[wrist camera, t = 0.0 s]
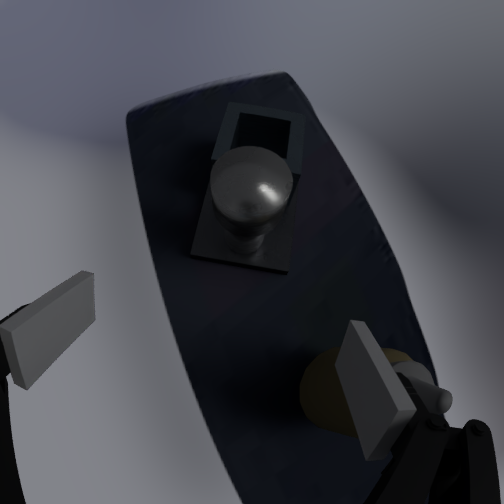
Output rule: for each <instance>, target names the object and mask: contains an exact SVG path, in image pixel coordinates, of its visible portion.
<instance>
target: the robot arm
mask: <svg viewBox="0 0 504 504" xmlns="http://www.w3.org/2000/svg"><path fill="white" fill-rule="evenodd" d="M94 321H95V304H94V273H90V272H86V271H80V272H79V273H77V274H76V275H74V276H72V277H71V278H69V279H68V280H66V281H64V282H63V283H61V284H60V285H58V286H57V287H55V288H53V289H52V290H51V291H49V292H47V293H46V294H44V295H43V296H41V297H40V298H38V299H37V300H35V301H34V302H32V303H30V304H27V305H24V306H21V307H20V308H18V309H17V310H15V311H14V312H12V313H11V314H9V316H6V317H5V318H3V319H2V320H0V504H26V502H25V499H24V495H23V491H22V487H21V483H20V478H19V474H18V469H17V464H16V459H15V453H14V447H13V440H12V431H11V423H10V412H9V397H8V382H7V379H6V376H7V375H8V374H9V373H10V372H11V375H12V378H13V381H14V384H16V385H18V386H20V387H21V388H23V389H25V390H28V389H29V388H30V387H31V386H32V385H33V383H34V382H35V381H36V380H37V379H38V378H39V377H40V376H41V375H42V374H43V373H44V372H45V371H46V369H48V368H49V366H50V365H51V364H52V363H53V362H54V361H55V360H56V359H57V358H58V357H59V356H60V355H61V354H62V353H63V352H64V351H65V350H66V349H67V348H68V347H69V346H70V345H71V344H72V343H73V342H74V341H75V340H76V339H77V338H78V337H79V336H80V334H81V333H83V332H84V331H85V330H86V329H87V328H88V327H89V326H90V325H91V324H92V323H93V322H94ZM335 367H336V370H337V373H338V376H339V379H340V382H341V385H342V388H343V391H344V394H345V397H346V400H347V403H348V406H349V409H350V412H351V415H352V418H353V421H354V424H355V427H356V430H357V434H358V437H359V440H360V443H361V446H362V449H363V453H364V456H365V459H366V461H373V460H384V458H385V457H386V455H387V454H388V453H389V451H390V450H391V452H392V455H393V458H392V460H391V461H390V462H389V464H388V465H387V466H386V467H385V469H384V470H383V471H382V472H381V474H382V476H381V477H380V479H379V481H378V482H377V484H376V485H375V487H374V488H373V490H372V492H371V493H370V495H369V496H368V498H367V499H366V500H365V502H364V503H363V504H424V502H425V500H426V498H427V495H428V493H429V490H430V494H429V502H428V504H501V500H500V489H499V488H500V487H499V478H498V470H497V463H496V457H495V451H494V444H493V439H492V434H491V431H490V428H489V427H488V426H487V425H486V424H485V423H484V422H482V421H479V420H475V419H472V420H469V421H468V422H467V423H466V424H465V426H464V427H463V429H461V428H454V427H450V426H449V424H448V422H447V421H446V420H445V419H444V418H443V417H441V416H439V415H437V414H434V413H429V411H428V410H427V408H426V406H425V405H424V403H423V401H422V400H421V398H420V396H419V395H418V394H417V391H416V390H415V388H413V385H412V383H411V382H410V380H409V379H408V378H407V377H406V376H404V375H403V374H402V373H401V372H395V371H394V369H393V368H392V366H391V364H390V363H389V361H388V359H387V358H386V356H385V355H384V353H383V351H382V350H381V348H380V346H379V345H378V343H377V342H376V340H375V338H374V337H373V335H372V334H371V332H370V330H369V329H368V327H367V326H366V324H365V323H364V322H362V321H354V320H350V322H349V326H348V329H347V332H346V334H345V337H344V340H343V343H342V346H341V349H340V352H339V354H338V357H337V360H336V363H335Z"/></svg>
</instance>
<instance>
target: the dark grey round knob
mask: <svg viewBox="0 0 504 504" xmlns="http://www.w3.org/2000/svg"><path fill="white" fill-rule="evenodd" d="M210 182H211V196H212V208H213V213H214V216H215V218H216V220H217V221H218V223H219V224H220V225H221V226H222V227H223V228H224V229H225V241H226V243H227V245H228V246H229V248H230V249H232V250H233V251H235V252H237V253H240V254H249V253H252V252H254V251H256V250H257V249H258V248H259V247H260V246H261V244H262V242H263V239H264V236H265V234H266V233H268V232H270V231H271V230H272V229H274V228H275V227H276V226H277V225H278V223H279V222H280V220H281V218H282V215H283V213H284V210H285V207H286V204H287V201H288V198H289V196H290V193H291V190H292V185H293V178H292V173H291V171H290V168H289V167H288V165H287V163H286V162H285V161H284V160H283V159H282V158H281V157H280V156H278V155H277V154H276V153H274V152H272V151H270V150H268V149H265V148H261V147H255V146H243V147H238V148H235V149H232V150H230V151H228V152H226V153H224V154H223V155H222V156H220V157H219V158H218V159H217V161H216V162H215V164H214V165H213V168H212V170H211V175H210Z"/></svg>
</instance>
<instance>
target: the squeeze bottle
mask: <svg viewBox="0 0 504 504" xmlns="http://www.w3.org/2000/svg"><path fill="white" fill-rule="evenodd" d="M340 349H341V347H333V348H331V349H329V350H327V351H325V352H323V353H321V354H319V355H318V356H317V357H316V358H315V359H314V360H313V361H312V362H311V363H310V364H309V365H308V367H307V368H306V370H305V372H304V375H303V377H302V380H301V382H300V404H301V406H302V408H303V411H304V413H305V415H306V417H307V418H308V419H309V420H310V421H312V422H313V423H314V424H315V425H316V426H318V427H319V428H322V429H326V430H329V431H333V432H336V433H340V434H344V435H347V436H351V437H355V438H359V437H358V434H357V430H356V427H355V424H354V421H353V418H352V415H351V412H350V409H349V406H348V403H347V400H346V397H345V394H344V391H343V388H342V385H341V382H340V379H339V376H338V373H337V370H336V367H335V363H336V360H337V357H338V354H339V352H340ZM381 350H382V351H383V353H384V355H385V356H386V358H387V359H388V361H389V363H390V364H391V366H392V368H393V369H394V371H395V372H401V373H402V374H403V375H404V376H406V377H407V378H408V379H409V380H410V382H411V383H412V385H413V388H415V390H416V391H417V394H418V395H419V396H420V398H421V400H422V401H423V403H424V405H425V406H426V408H427V410H428V411H429V413H434V414H437V415H438V414H442V413H446V412H447V411H448V410H449V409H450V407H451V404H452V394H451V393H450V392H449V391H447V390H445V389H442V388H439V387H437V386H434V382H433V379H432V377H431V374H430V372H429V371H428V370H427V369H426V368H425V367H424V366H423V365H422V364H420V363H417V362H414V361H413V360H412V359H411V358H410V357H409V356H408V355H407V354H406V353H403V352H400V351H397V350H394V349H388V348H381Z"/></svg>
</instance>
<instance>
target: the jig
mask: <svg viewBox="0 0 504 504" xmlns="http://www.w3.org/2000/svg"><path fill="white" fill-rule="evenodd" d="M304 130H305V115H304V114H299V113H294V112H289V111H284V110H278V109H273V108H267V107H261V106H255V105H248V104H241V103H234V102H229V104H228V107H227V110H226V113H225V116H224V119H223V122H222V125H221V128H220V131H219V134H218V138H217V141H216V144H215V147H214V150H213V154H212V157H211V169H212V168H213V165H214V164H215V162H216V161H217V159H218V158H219V157H220V156H222V155H223V154H224V153H226V152H228V151H230V150H232V149H235V148H238V147H243V146H255V147H261V148H265V149H268V150H270V151H272V152H274V153H276V154H277V155H278V156H280V157H281V158H282V159H283V160H284V161H285V162H286V163H287V165H288V167H289V168H290V171H291V173H292V178H293V185H292V190H291V193H290V196H289V198H288V201H287V204H286V207H285V210H284V213H283V215H282V218H281V220H280V222H279V223H278V225H277V226H276V227H275V228H274V229H272V230H271V231H270V232H268V233H266V234H265V236H264V239H263V242H262V244H261V246H260V247H259V248H258V249H257V250H256V251H254V252H252V253H249V254H240V253H237V252H235V251H233V250H232V249H230V248H229V246H228V245H227V243H226V241H225V229H224V228H223V227H222V226H221V225H220V224H219V223H218V221H217V220H216V218H215V216H214V213H213V208H212V196H211V182H210V180H209V184H208V187H207V191H206V195H205V198H204V202H203V206H202V210H201V213H200V217H199V221H198V225H197V229H196V233H195V237H194V241H193V245H192V249H191V253H190V255H191V258H193V259H198V260H204V261H209V262H215V263H221V264H226V265H232V266H238V267H243V268H249V269H255V270H260V271H266V272H272V273H278V274H284V275H287V273H288V272H289V265H290V256H291V248H292V239H293V230H294V221H295V212H296V202H297V192H298V182H299V178H300V175H301V167H302V155H303V143H304Z"/></svg>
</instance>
